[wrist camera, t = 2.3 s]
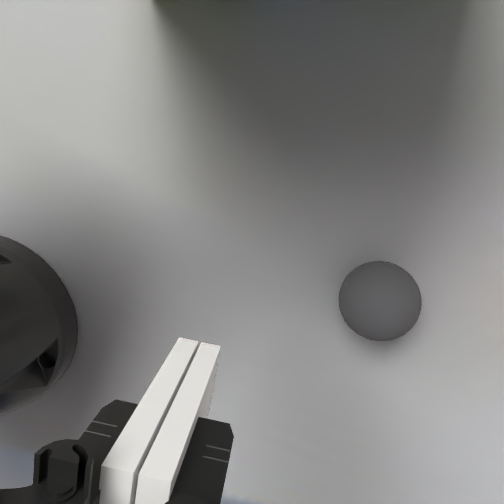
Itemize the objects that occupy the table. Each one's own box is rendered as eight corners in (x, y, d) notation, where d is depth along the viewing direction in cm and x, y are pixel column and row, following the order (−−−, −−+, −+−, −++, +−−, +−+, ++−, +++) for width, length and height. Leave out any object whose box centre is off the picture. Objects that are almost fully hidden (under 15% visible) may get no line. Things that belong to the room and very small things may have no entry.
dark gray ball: (323, 270, 31) (330, 294, 26) (392, 241, 30) (414, 260, 25) (351, 331, 32) (363, 367, 27) (419, 305, 31) (445, 337, 26)
